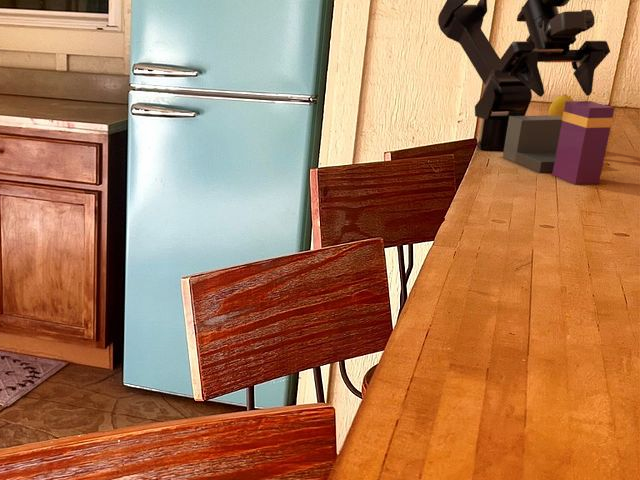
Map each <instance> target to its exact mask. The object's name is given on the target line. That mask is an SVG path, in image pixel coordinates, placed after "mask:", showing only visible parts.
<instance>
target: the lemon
mask: <svg viewBox="0 0 640 480" xmlns="http://www.w3.org/2000/svg"><path fill="white" fill-rule="evenodd" d="M566 101H574V99H573V98H571V97H570V96H569V95H568V94H562V95H560V96H558V97H556V98H554V100H553V101H552V102H551V103H550V106H549V109H548V115H558V116H561V117H563V112H564V108H565V103H566Z"/></svg>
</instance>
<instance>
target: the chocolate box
mask: <svg viewBox="0 0 640 480" xmlns="http://www.w3.org/2000/svg"><path fill="white" fill-rule="evenodd" d="M614 113H615V106H610V105H608V104H603V103H599V102H595V101H591V100H573V101H566V103H565V108H564V112H563V117H562V125H561V130H560V135H559V141H558V146H557V151H556V157H555V162H554V168H553V172H551V175H552V176H553V177H556V178H558V179H561V180H563V181H565V182H569V183H570V184H573V185H598V184H600V181H601V176H602V170H603V166H604V161H605V156H606V151H607V146H608V142H609V137H610V134H611V133H610V132H611V128H612V126H613V125H612V124H613V119H614Z"/></svg>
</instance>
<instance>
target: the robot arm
mask: <svg viewBox="0 0 640 480" xmlns="http://www.w3.org/2000/svg"><path fill="white" fill-rule="evenodd" d="M468 1H469V0H445V3H444V5H443V6H442V8H441V10H440V12H439V14H438V18H437V23H438V27H439V30H440V32H441V33H443V35H444V36H445V37H446V38H448V39H449V40H452V41H454V42H456V43H458V44H460V46H461V48H462V49H463V52H464V53H465V55H466V56H467V58H468V60H469V61H470V63H471V65H472V66H473V68H474V70H475V71H476V72H477V75H478V76H479V78H480V80H481V81H482V82H483V84H484V88H483V91H482V94H481V95H482V96H481V97H480V99H479V100H478V101H477V103H476V104H475V105H474V117H476V118H479V119H481V121H480V129H479V135H478V141H476V143H475V144H476V146H477V147H478V148H479V150H486V151H504V146H505V139H506V133H507V127H508V121H509V116H526V114H527V111H528V109H529V107H530V104H531V101H532V98H533V93H532V92H534V94H535V95H537V96H538V97H539V98H540V97H543V96H544V95H545V87H544V82H543V80H542V77H541V73H540V70H539V66H538V63H571V67H572V69H573V70H574V71H573V76H574V77H575V79H576V81H577V84H578V85H579V86H580V89H581V90H582V92H583V93H584V94H585V96H590V95H591V94H592V93H593V86H594V79H595V78H594V76H595V72H596V71H595V70H596V69H597V68H598V67H599V66H600V64H601V63H602V62H603V61H604V60H605V59H606V57H608V55H609V54H610V53H611V49H610V45H609V44H608V41H607V40H585V41H583V44H581V45H580V47H579V48H578V49H571V48H570V46H571V45H574V43H575V42H576V41H577V37H576V36H577V35H579V34H582V33H583V32H587V31H588V30H590V29H591V28H593V27H594V26H595V24H596V22H595V15H594V13H593V10H592V9H582V10H581V11H578V10H577V11H576V10H575V11H574V10H573V11H570V10H569V11H562V12H559V9H558V8H560V7H561V8H562V7H565V6H567V5H568V4H569V2H570V1H571V0H526V2H525V3H524V5H523V6H521V9H520V11H519V13H518V14H517V16H516V22H520V23H521V22H525V24H526V28H527V30H528V31H527V32H528V34H529V35H528V36H527V38H526V39H525V40H524V41H523V40H522V41H519V40H518V41H517V40H516V41H512V42H511V44H510V45H509V46H508V47H507V49H506V50H505V51H504V53H503V55H502V56H501V58H500V56H499V55H498V53H497V52H496V50H495V49H494V47H493V46H492V44H491V42H490V41H489V39H488V37H487V36H486V34H485V33H484V31H483V30H482V27H483V22H484V18H485V16H486V14H487V13H488V0H479V1H478V2H477V4H466V3H467V2H468Z"/></svg>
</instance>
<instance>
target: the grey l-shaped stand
mask: <svg viewBox="0 0 640 480" xmlns="http://www.w3.org/2000/svg"><path fill="white" fill-rule="evenodd" d="M561 125H562V117H561V116H558V115H544V114H543V115H525V116H509V121H508V127H507V133H506V139H505V146H504V150H503V153H502V158H503V159H506V160H508V161H510V162H513V163H514V164H518V165H520V166H522V167H524V168H527V169H530V170H532V171H534V172H537V173H540V174H541V173H542V174H543V173H544V174H545V173H553V168H554V162H555V157H556V151H557V146H558V141H559V135H560V130H561Z"/></svg>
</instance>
